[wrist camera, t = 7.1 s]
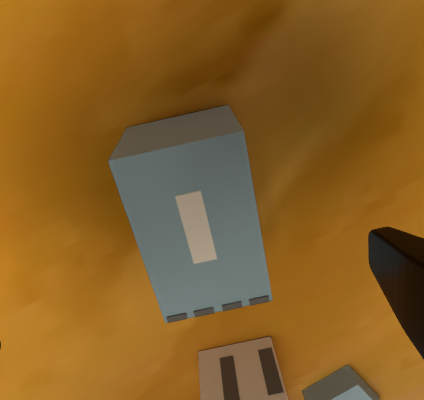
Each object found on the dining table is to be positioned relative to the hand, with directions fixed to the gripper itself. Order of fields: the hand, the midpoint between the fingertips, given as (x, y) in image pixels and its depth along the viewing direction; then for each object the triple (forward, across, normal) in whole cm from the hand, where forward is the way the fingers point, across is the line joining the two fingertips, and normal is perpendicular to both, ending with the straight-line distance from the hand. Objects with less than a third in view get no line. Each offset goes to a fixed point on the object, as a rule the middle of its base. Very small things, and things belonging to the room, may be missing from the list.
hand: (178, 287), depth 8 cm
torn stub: (+11, -7, +22) cm, 26 cm away
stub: (+11, 0, +2) cm, 11 cm away
